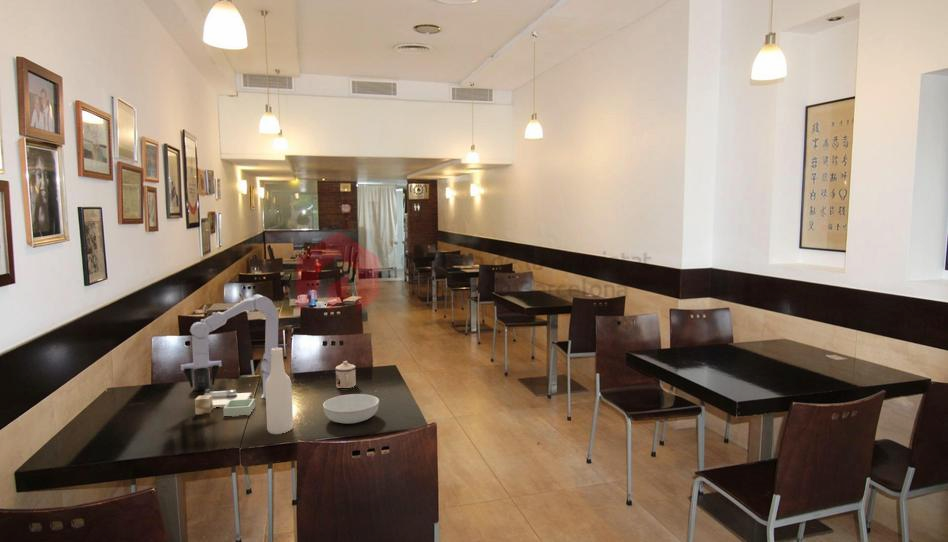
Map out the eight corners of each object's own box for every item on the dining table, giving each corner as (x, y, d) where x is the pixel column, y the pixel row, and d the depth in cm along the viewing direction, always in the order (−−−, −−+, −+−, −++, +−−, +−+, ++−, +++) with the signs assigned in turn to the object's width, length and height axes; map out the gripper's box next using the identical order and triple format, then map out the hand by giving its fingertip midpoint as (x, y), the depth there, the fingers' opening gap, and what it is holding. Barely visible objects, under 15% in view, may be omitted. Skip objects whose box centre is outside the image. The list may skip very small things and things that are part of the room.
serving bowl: (390, 415, 214) (390, 398, 213) (353, 434, 196) (352, 415, 195) (350, 406, 224) (350, 390, 223) (311, 423, 206) (310, 405, 206)
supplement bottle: (213, 386, 252) (212, 361, 251) (204, 391, 245) (203, 365, 244) (199, 386, 253) (197, 360, 252) (190, 391, 246) (188, 364, 245)
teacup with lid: (334, 384, 254) (334, 359, 252) (355, 382, 256) (354, 358, 255) (337, 392, 242) (336, 366, 241) (358, 390, 245) (357, 364, 244)
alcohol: (287, 423, 206) (283, 344, 203) (297, 430, 199) (293, 348, 196) (263, 429, 200) (259, 348, 197) (273, 436, 193) (269, 352, 191)
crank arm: (237, 394, 236) (237, 386, 236) (235, 396, 233) (234, 389, 232) (206, 396, 234) (206, 388, 234) (204, 398, 231) (203, 391, 230)
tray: (255, 406, 224) (254, 398, 224) (250, 415, 215) (249, 406, 215) (230, 408, 223) (229, 400, 222) (223, 417, 213) (223, 408, 213)
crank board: (251, 395, 239) (251, 391, 239) (244, 406, 226) (243, 402, 226) (212, 397, 237) (211, 394, 237) (202, 408, 223) (201, 405, 223)
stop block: (212, 409, 222) (212, 394, 222) (209, 413, 217) (208, 398, 217) (199, 410, 221) (198, 395, 221) (195, 414, 217) (194, 399, 216)
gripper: (220, 348, 227) (222, 380, 228) (180, 352, 221) (182, 385, 223) (220, 352, 221) (222, 385, 222) (179, 356, 215) (181, 390, 216)
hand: (202, 385), depth 222 cm, fingers open, 7 cm apart
